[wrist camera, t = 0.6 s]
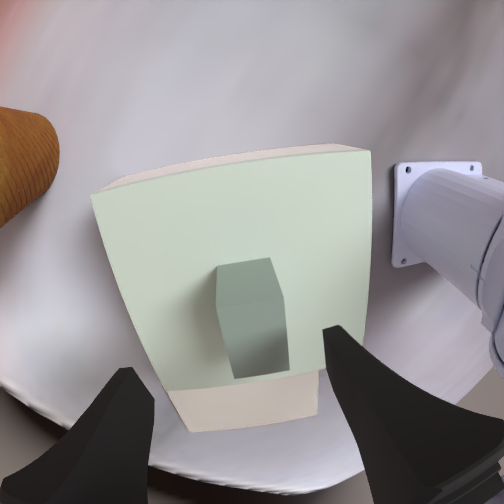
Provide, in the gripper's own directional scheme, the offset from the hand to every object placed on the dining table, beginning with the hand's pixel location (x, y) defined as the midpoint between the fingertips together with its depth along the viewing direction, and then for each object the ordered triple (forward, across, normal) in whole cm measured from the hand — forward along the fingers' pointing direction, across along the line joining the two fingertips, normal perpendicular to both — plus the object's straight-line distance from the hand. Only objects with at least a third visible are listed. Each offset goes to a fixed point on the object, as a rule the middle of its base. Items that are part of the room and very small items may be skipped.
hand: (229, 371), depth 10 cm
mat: (+10, +2, +15) cm, 18 cm away
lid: (+6, -1, 0) cm, 6 cm away
